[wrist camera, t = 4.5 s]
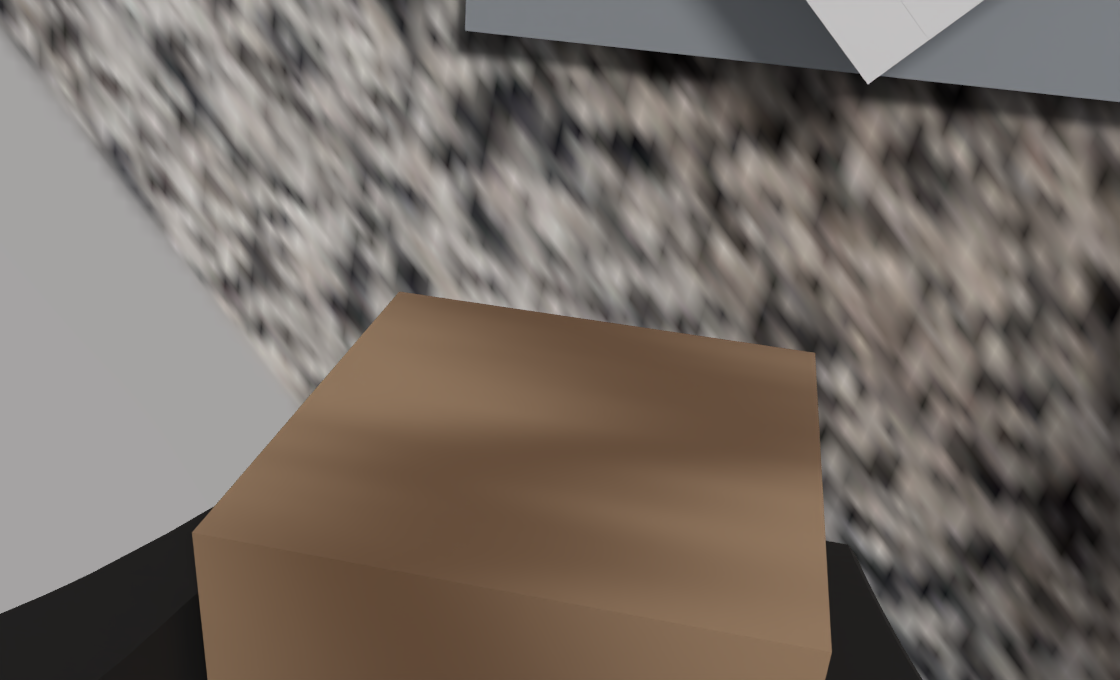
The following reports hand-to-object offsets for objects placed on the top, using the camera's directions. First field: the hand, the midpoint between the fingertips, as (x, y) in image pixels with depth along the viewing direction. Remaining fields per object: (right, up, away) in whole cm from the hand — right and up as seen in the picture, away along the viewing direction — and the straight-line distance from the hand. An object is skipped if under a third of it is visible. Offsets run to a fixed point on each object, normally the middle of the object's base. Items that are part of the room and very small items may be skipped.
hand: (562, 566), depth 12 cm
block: (0, +1, +1) cm, 2 cm away
